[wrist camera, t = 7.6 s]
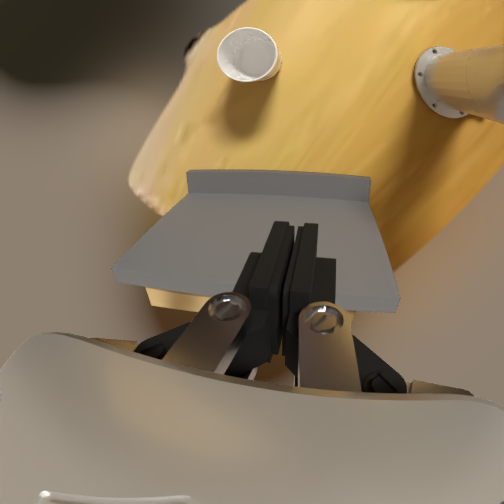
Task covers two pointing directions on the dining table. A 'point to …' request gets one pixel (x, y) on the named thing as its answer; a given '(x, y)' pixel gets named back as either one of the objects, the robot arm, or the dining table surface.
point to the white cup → (249, 55)
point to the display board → (263, 234)
